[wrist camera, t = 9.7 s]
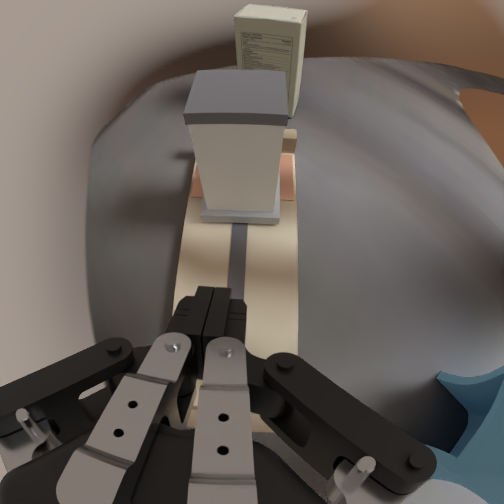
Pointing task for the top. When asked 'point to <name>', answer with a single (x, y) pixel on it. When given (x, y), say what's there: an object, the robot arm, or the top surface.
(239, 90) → the fader knob
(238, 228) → the fader track
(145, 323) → the top surface
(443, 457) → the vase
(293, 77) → the skincare box
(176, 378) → the robot arm
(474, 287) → the top surface
